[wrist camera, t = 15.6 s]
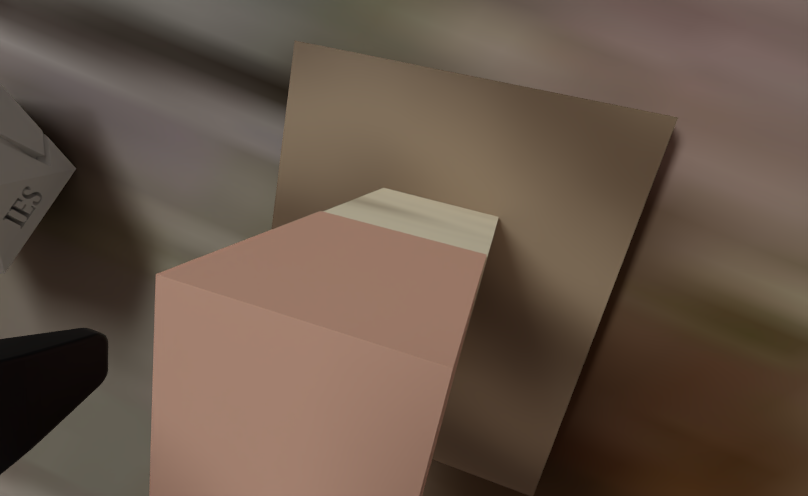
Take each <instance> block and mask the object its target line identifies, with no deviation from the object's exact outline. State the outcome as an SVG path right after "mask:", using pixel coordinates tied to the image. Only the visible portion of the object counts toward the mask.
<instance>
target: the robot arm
mask: <svg viewBox="0 0 808 496" xmlns="http://www.w3.org/2000/svg"><path fill="white" fill-rule="evenodd" d="M107 372H108V339H107V337H106V336H105V335H104V334H102V333H100V332H97V331H95V330H92V329H89V328H78V329H71V330H63V331H56V332H49V333H42V334H34V335H27V336H20V337H13V338H6V339H0V474H1V473H3V472H4V471H5V470H6V469H8V468H9V467H10V466H11V465H13V464H14V463H15V462H16V461H18V460H19V459H20V458H21V457H22V456H24V455H25V454H26V453H27V452H28V451H30V450H31V449H32V448H33V447H34V446H35V445H36V444H37V443H39V442H40V441H41V440H42V439H43V438H44V437H45V436H46V435H47V434H48V433H49V432H50V431H52V430H53V429H54V428H55V427H56V426H57V425H58V424H59V423H60V422H61V421H62V420H63V419H64V418H65V417H66V416H68V415H69V414H70V413H71V412H72V411H73V410H74V409H75V408H76V407H77V406H78V405H79V404H80V403H81V402H83V401H84V400H85V399H86V398H87V397H88V396H89V395H90V394H91V393H92V392H93V391H94V390H95V389H96V388H97V387H99V386H100V385H101V383H102V382H103V381H104V379H105V378H106V376H107Z"/></svg>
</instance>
